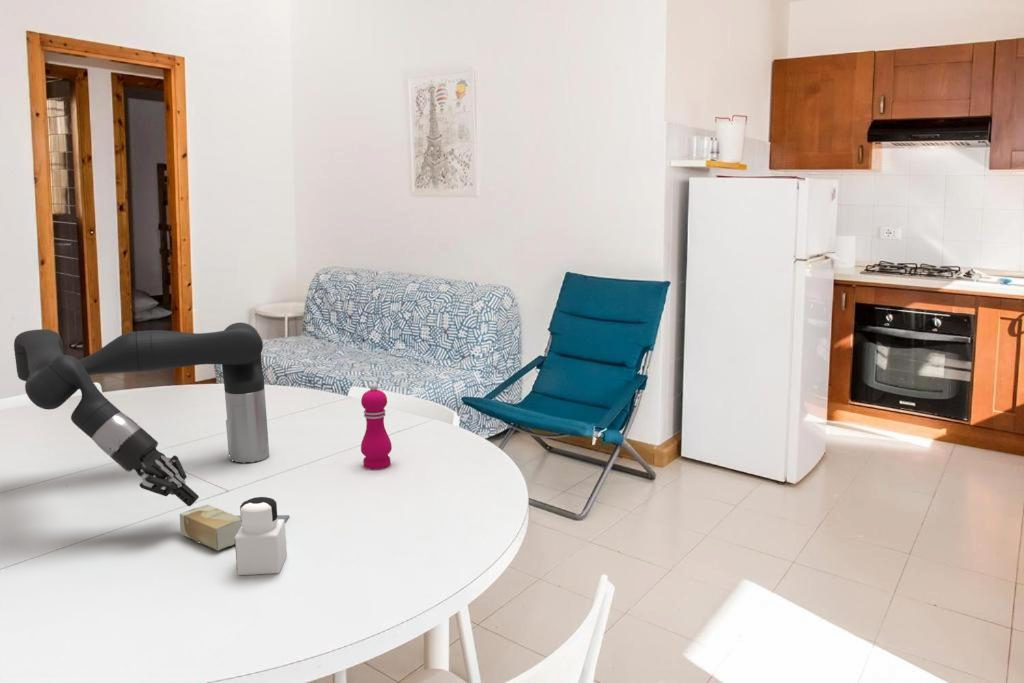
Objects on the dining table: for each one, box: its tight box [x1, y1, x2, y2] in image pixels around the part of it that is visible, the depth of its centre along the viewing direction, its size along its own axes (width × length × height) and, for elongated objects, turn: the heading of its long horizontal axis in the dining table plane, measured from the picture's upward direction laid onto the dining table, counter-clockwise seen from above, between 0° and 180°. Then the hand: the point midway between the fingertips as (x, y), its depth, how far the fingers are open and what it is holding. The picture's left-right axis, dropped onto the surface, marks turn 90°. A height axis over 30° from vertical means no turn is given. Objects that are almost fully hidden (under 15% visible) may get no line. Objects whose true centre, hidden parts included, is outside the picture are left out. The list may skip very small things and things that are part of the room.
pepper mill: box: [360, 383, 393, 470], centre depth 192 cm, size 7×7×20 cm
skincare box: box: [179, 504, 242, 551], centre depth 153 cm, size 6×4×12 cm
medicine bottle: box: [234, 496, 288, 576], centre depth 141 cm, size 7×7×12 cm
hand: (194, 501), depth 157 cm, fingers closed
